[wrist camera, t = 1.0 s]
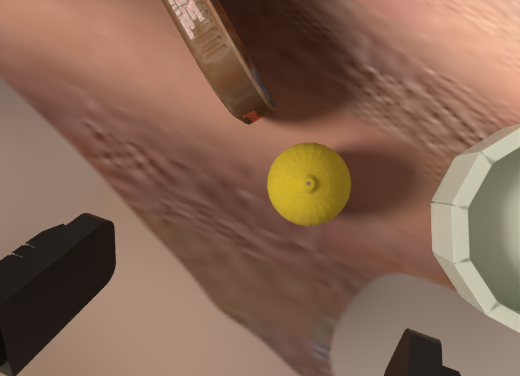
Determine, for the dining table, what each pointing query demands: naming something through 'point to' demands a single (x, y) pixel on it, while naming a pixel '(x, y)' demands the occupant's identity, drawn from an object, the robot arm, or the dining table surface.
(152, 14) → the dining table surface
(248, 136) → the dining table surface
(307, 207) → the lemon
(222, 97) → the tin
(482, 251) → the bowl
